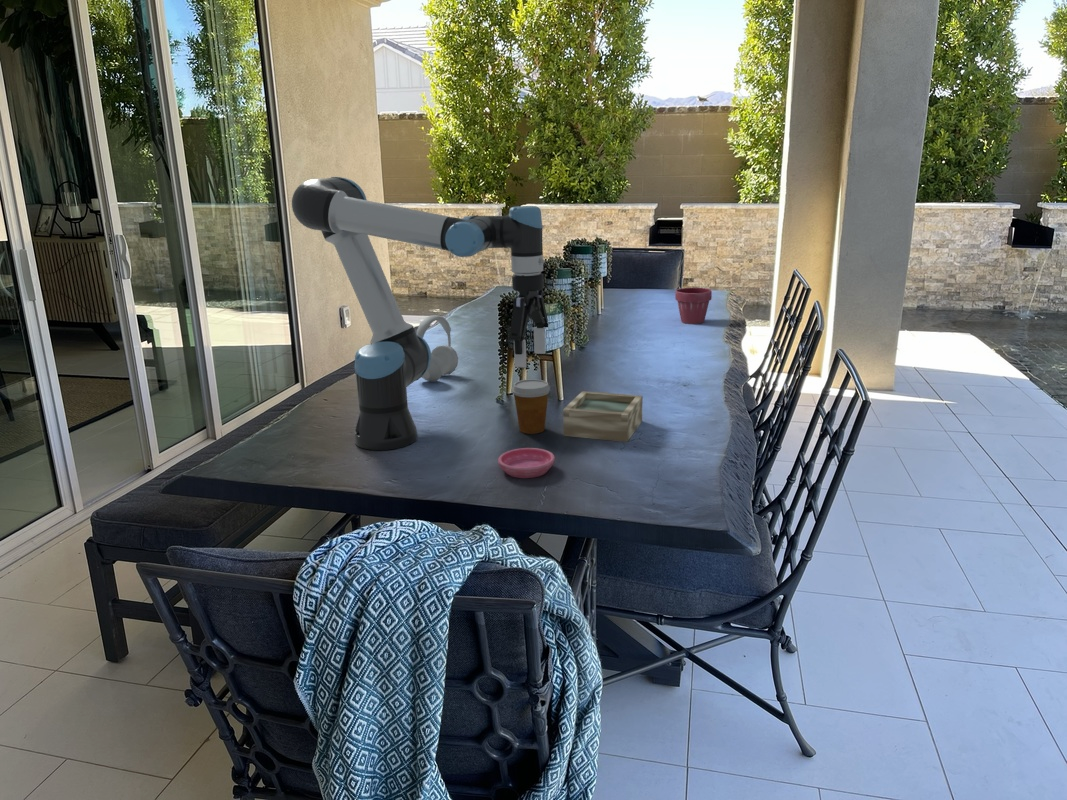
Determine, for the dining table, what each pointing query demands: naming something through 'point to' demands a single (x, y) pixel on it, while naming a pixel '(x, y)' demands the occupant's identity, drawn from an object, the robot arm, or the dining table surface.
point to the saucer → (526, 462)
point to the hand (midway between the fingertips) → (530, 360)
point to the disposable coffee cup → (531, 404)
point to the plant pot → (693, 304)
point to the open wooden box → (603, 416)
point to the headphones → (439, 351)
